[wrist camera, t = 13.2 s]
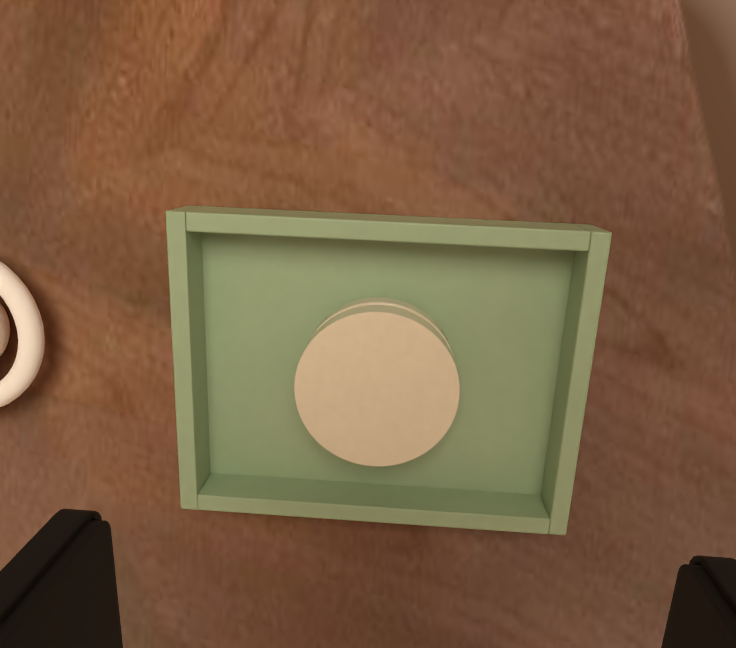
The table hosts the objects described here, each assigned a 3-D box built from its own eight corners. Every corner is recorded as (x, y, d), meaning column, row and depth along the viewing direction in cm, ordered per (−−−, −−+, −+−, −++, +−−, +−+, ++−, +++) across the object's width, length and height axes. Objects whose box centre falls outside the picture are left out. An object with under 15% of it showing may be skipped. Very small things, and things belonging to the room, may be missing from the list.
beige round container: (460, 298, 26) (467, 316, 24) (448, 439, 28) (453, 472, 25) (306, 290, 27) (294, 307, 24) (304, 430, 29) (293, 461, 26)
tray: (592, 224, 26) (612, 232, 23) (552, 503, 30) (566, 535, 27) (187, 205, 27) (165, 210, 24) (199, 479, 30) (180, 508, 28)
